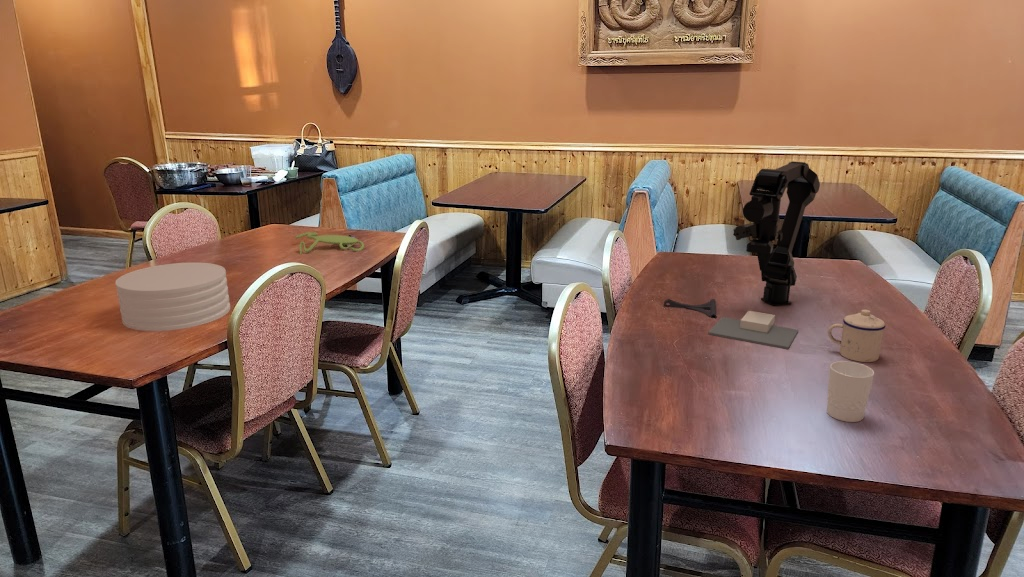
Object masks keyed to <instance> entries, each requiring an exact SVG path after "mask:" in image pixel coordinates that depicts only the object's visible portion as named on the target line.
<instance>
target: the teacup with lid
mask: <svg viewBox="0 0 1024 577" xmlns="http://www.w3.org/2000/svg"><path fill="white" fill-rule="evenodd" d="M842 322H843V324H842V323H834V324H832V325H830V326H829V328H828V329H827V330H828V332H827V334H828V338H829V339H830V340H831V341H832V342H833V343H835V344H837V345H840V346H839V354H840V355H841V356H842V357H844V358H845V359H848V360H851V361H853V362H858V363H860V362H861V363H872V362H876V361H878V360H879V358H880V352H881V346H882V341H883V335H884V331H885V330H884V329H885V328H886V323H885V322H884V320H882V319H881V318H878V317H876V316H875V315H873V314H871V310H869V309H861V311H860V312H857V313H854V314H847V315H846V316H844V318H843V320H842ZM835 328H841V329H842V333H841V339H840V340H839V339H836V338H835V337H834V336H833V334H832V330H833V329H835Z"/></svg>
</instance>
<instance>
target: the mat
mask: <svg viewBox="0 0 1024 577" xmlns="http://www.w3.org/2000/svg"><path fill="white" fill-rule="evenodd" d="M740 323H741V319H738V318H731V317H726V316H722V317H720V319H719V320H718V321H717V322H716V323H715V324H714V326H712V327H711V328H710V329H709V331H708V332H707V335H709V336H715V337H721V338H726V339H731V340H736V341H742V342H748V343H751V344H752V343H753V344H758V345H762V346H769V347H774V348H780V349H784V350H785V349H786V350H789V348H790V347H791V346H792V343H793V342H794V340H795V338H796V337H797V335H798V333H799V329H796V328H795V329H794V328H789V327H784V326H777V325H773V326H772V327H771V329H770V330H769V332H768V333H761V332H756V331H750V330H744V329H740Z"/></svg>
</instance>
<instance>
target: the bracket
mask: <svg viewBox="0 0 1024 577" xmlns="http://www.w3.org/2000/svg"><path fill="white" fill-rule="evenodd" d="M668 304H669V305H668ZM663 307H667V308H676V309H677V308H678V309H689V310H692V311H697V312H698V313H699V312H700V313H702V314H704V315H706V316H707V317H709V318H712V317H713V316H714V319H717V301H716V299H715V298H711V299H710V300H709V301H708V302H705V303H702V304H694V305H693V304H687V303H681V302H679V301H677V300H672V299H669V298H668V299H665V300H664V302H663Z"/></svg>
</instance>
